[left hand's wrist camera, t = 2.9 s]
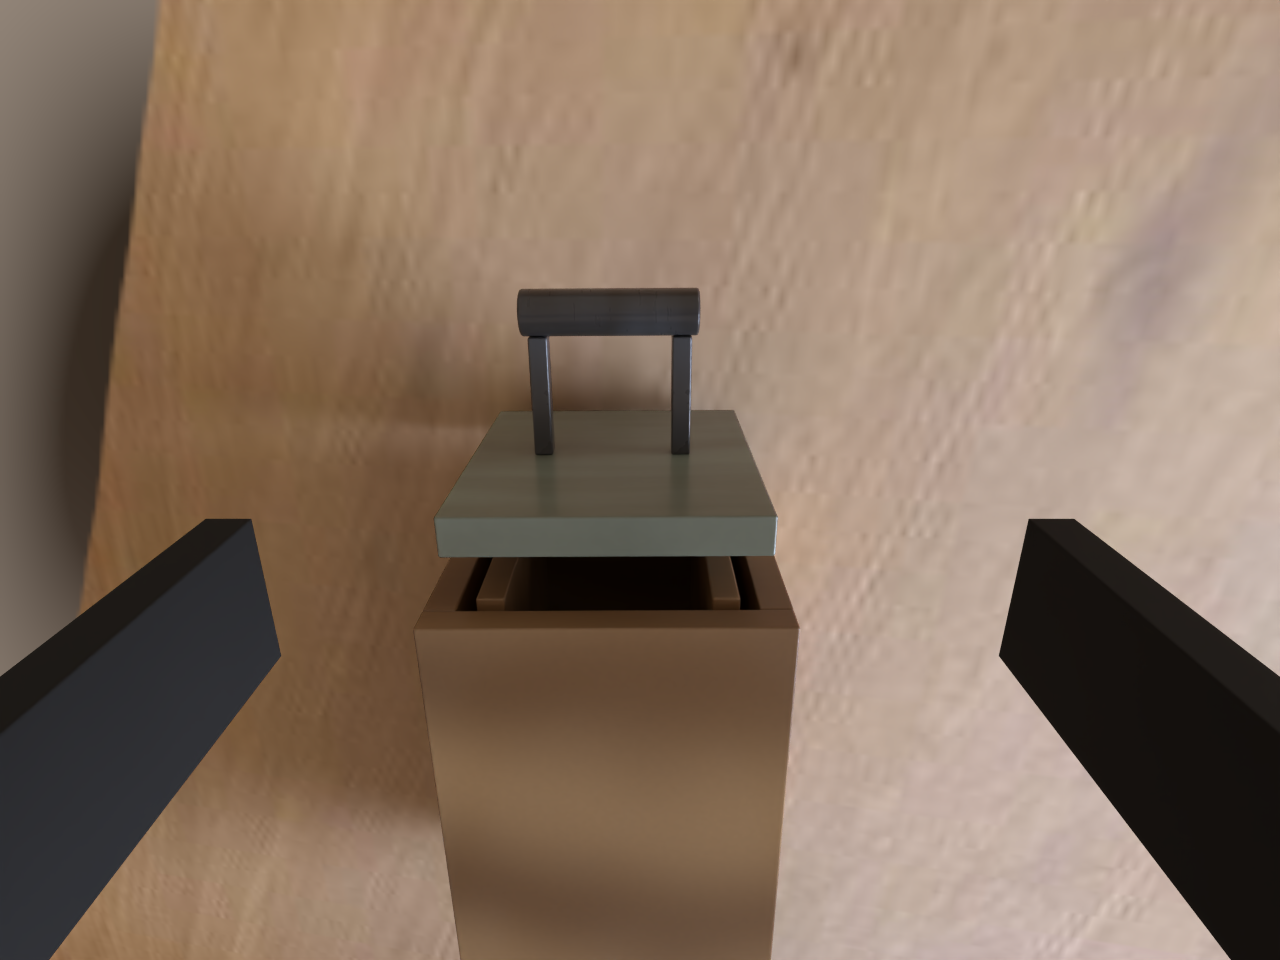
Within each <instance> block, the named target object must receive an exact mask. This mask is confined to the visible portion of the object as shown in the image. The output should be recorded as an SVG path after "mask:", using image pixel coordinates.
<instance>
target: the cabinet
mask: <svg viewBox="0 0 1280 960" xmlns="http://www.w3.org/2000/svg"><path fill="white" fill-rule="evenodd" d="M730 558H731V562H732V566H733V570H734V574H735V579H736V583H737V587H738V591H739V595H740V610H635V611H477V603H476V599H477V597H478V594H479V592H480V589H481V587H482V584H483V582H484V579H485V577H486V574H487V572H488V569H489V567H490V564H491V562H492V559H493V557H451V558H450V560H449V561H448V563H447V565H446V567H445V569H444V571H443V573H442V575H441V577H440V579H439V581H438V583H437V585H436V587H435V589H434V591H433V593H432V594H431V596H430V598H429V600H428V602H427V604H426V606H425V608H424V610H423V612H422V614H421V616H420V618H419V620H418V622H417V624H416V625H415V627H414V630H413V631H414V638H415V645H416V652H417V659H418V666H419V673H420V680H421V687H422V694H423V701H424V708H425V715H426V722H427V729H428V736H429V743H430V750H431V757H432V764H433V771H434V778H435V784H436V791H437V798H438V805H439V812H440V819H441V826H442V833H443V840H444V847H445V854H446V861H447V868H448V875H449V882H450V889H451V896H452V903H453V910H454V917H455V924H456V931H457V938H458V945H459V952H460V959H461V960H771V953H772V941H773V930H774V919H775V907H776V896H777V885H778V873H779V862H780V850H781V839H782V828H783V816H784V805H785V793H786V782H787V771H788V759H789V748H790V736H791V725H792V714H793V702H794V691H795V680H796V668H797V657H798V645H799V634H800V627H799V624H798V622H797V619H796V616H795V613H794V611H793V607H792V604H791V601H790V599H789V596H788V593H787V590H786V588H785V585H784V582H783V579H782V576H781V574H780V571H779V568H778V565H777V562H776V560H775V557H774V556H730Z"/></svg>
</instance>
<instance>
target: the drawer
mask: <svg viewBox="0 0 1280 960" xmlns="http://www.w3.org/2000/svg"><path fill="white" fill-rule="evenodd" d="M517 319H518V327H519V331H520V333H521V335H522V336H529V338H528V353H529V369H530V384H531V400H532V411H501V412H500V413H499V415H498V417H497V418H496V420H495V421H494V423H493V425H492V426H491V428H490V429H489V431H488V433H487V434H486V436H485V437H484V439H483V441H482V442H481V444H480V445H479V447H478V449H477V450H476V452H475V453H474V455H473V457H472V458H471V460H470V461H469V463H468V464H467V466H466V468H465V469H464V471H463V472H462V474H461V476H460V477H459V479H458V480H457V482H456V484H455V485H454V487H453V488H452V490H451V492H450V493H449V495H448V496H447V498H446V500H445V501H444V503H443V504H442V506H441V508H440V509H439V511H438V512H437V514H436V516H435V517H434V525H435V533H436V541H437V549H438V556H439V557H493V559H492V562H491V564H490V567H489V569H488V572H487V574H486V577H485V579H484V582H483V584H482V587H481V589H480V592H479V594H478V597H477V599H476V603H477V611H635V610H740V595H739V591H738V587H737V583H736V579H735V574H734V570H733V566H732V562H731V558H730V556H774V555H775V549H776V535H777V521H778V517H777V514H776V512H775V509H774V507H773V504H772V502H771V500H770V497H769V495H768V492H767V490H766V487H765V485H764V482H763V480H762V478H761V475H760V473H759V470H758V468H757V465H756V463H755V460H754V458H753V456H752V453H751V451H750V448H749V446H748V443H747V441H746V439H745V436H744V434H743V431H742V429H741V426H740V424H739V421H738V419H737V417H736V414H735V412H734V410H691V365H692V337H691V335H698V333H699V328H700V292H699V289H698V288H595V289H521V290H519V293H518V297H517ZM657 335H672V355H671V411H553V401H552V382H551V363H550V344H549V336H657Z"/></svg>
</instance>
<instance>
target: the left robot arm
mask: <svg viewBox="0 0 1280 960" xmlns="http://www.w3.org/2000/svg"><path fill="white" fill-rule="evenodd" d="M280 657H281V653H280V649H279V644H278V639H277V635H276V630H275V626H274V621H273V616H272V612H271V607H270V603H269V598H268V594H267V589H266V584H265V580H264V575H263V571H262V566H261V561H260V557H259V552H258V548H257V543H256V539H255V534H254V529H253V525H252V520H251V519H205V520H204V521H202V522H201V523H200V524H199V525H197V526H196V527H195V528H193V529H192V530H191V531H189V532H188V533H187V534H186V535H184V536H183V537H182V538H180V539H179V540H178V541H176V542H175V543H174V544H173V545H171V546H170V547H169V548H167V549H166V550H165V551H163V552H162V553H161V554H159V555H158V556H157V557H156V558H154V559H153V560H152V561H150V562H149V563H148V564H146V565H145V566H144V567H143V568H141V569H140V570H139V571H137V572H136V573H135V574H133V575H132V576H131V577H130V578H128V579H127V580H126V581H124V582H123V583H122V584H120V585H119V586H118V587H116V588H115V589H114V590H113V591H111V592H110V593H109V594H107V595H106V596H105V597H103V598H102V599H101V600H100V601H98V602H97V603H96V604H94V605H93V606H92V607H90V608H89V609H88V610H87V611H85V612H84V613H83V614H81V615H80V616H79V617H77V618H76V619H75V620H73V621H72V622H71V623H70V624H68V625H67V626H66V627H64V628H63V629H62V630H60V631H59V632H58V633H57V634H55V635H54V636H53V637H51V638H50V639H49V640H47V641H46V642H45V643H44V644H42V645H41V646H40V647H38V648H37V649H36V650H34V651H33V652H32V653H30V654H29V655H28V656H27V657H25V658H24V659H23V660H21V661H20V662H19V663H17V664H16V665H15V666H14V667H12V668H11V669H10V670H8V671H7V672H6V673H4V674H3V675H2V676H1V677H0V960H49V959H50V958H51V957H52V955H53V954H54V953H55V951H56V950H57V949H58V947H59V946H60V945H61V943H62V942H63V941H64V940H65V938H66V937H67V936H68V934H69V933H70V932H71V930H72V929H73V928H74V926H75V925H76V924H77V922H78V921H79V920H80V919H81V917H82V916H83V915H84V913H85V912H86V911H87V909H88V908H89V907H90V905H91V904H92V903H93V902H94V900H95V899H96V898H97V896H98V895H99V894H100V892H101V891H102V890H103V888H104V887H105V886H106V885H107V883H108V882H109V881H110V879H111V878H112V877H113V875H114V874H115V873H116V871H117V870H118V869H119V867H120V866H121V865H122V864H123V862H124V861H125V860H126V858H127V857H128V856H129V854H130V853H131V852H132V850H133V849H134V848H135V847H136V845H137V844H138V843H139V841H140V840H141V839H142V837H143V836H144V835H145V833H146V832H147V831H148V830H149V828H150V827H151V826H152V824H153V823H154V822H155V820H156V819H157V818H158V816H159V815H160V814H161V812H162V811H163V810H164V809H165V807H166V806H167V805H168V803H169V802H170V801H171V799H172V798H173V797H174V795H175V794H176V793H177V792H178V790H179V789H180V788H181V786H182V785H183V784H184V782H185V781H186V780H187V778H188V777H189V776H190V774H191V773H192V772H193V771H194V769H195V768H196V767H197V765H198V764H199V763H200V761H201V760H202V759H203V757H204V756H205V755H206V754H207V752H208V751H209V750H210V748H211V747H212V746H213V744H214V743H215V742H216V740H217V739H218V738H219V737H220V735H221V734H222V733H223V731H224V730H225V729H226V727H227V726H228V725H229V723H230V722H231V721H232V719H233V718H234V717H235V716H236V714H237V713H238V712H239V710H240V709H241V708H242V706H243V705H244V704H245V702H246V701H247V700H248V699H249V697H250V696H251V695H252V693H253V692H254V691H255V689H256V688H257V687H258V685H259V684H260V683H261V681H262V680H263V679H264V678H265V676H266V675H267V674H268V672H269V671H270V670H271V668H272V667H273V666H274V664H275V663H276V662H277V661H278V659H279V658H280ZM999 657H1000V658H1001V659H1002V661H1003V662H1004V663H1005V664H1006V666H1007V667H1008V668H1009V670H1010V671H1011V672H1012V674H1013V675H1014V676H1015V678H1016V679H1017V680H1018V682H1019V683H1020V684H1021V685H1022V687H1023V688H1024V689H1025V691H1026V692H1027V693H1028V695H1029V696H1030V697H1031V699H1032V700H1033V701H1034V702H1035V704H1036V705H1037V706H1038V708H1039V709H1040V710H1041V712H1042V713H1043V714H1044V716H1045V717H1046V718H1047V719H1048V721H1049V722H1050V723H1051V725H1052V726H1053V727H1054V729H1055V730H1056V731H1057V733H1058V734H1059V735H1060V737H1061V738H1062V739H1063V740H1064V742H1065V743H1066V744H1067V746H1068V747H1069V748H1070V750H1071V751H1072V752H1073V754H1074V755H1075V756H1076V757H1077V759H1078V760H1079V761H1080V763H1081V764H1082V765H1083V767H1084V768H1085V769H1086V771H1087V772H1088V773H1089V774H1090V776H1091V777H1092V778H1093V780H1094V781H1095V782H1096V784H1097V785H1098V786H1099V788H1100V789H1101V790H1102V792H1103V793H1104V794H1105V795H1106V797H1107V798H1108V799H1109V801H1110V802H1111V803H1112V805H1113V806H1114V807H1115V809H1116V810H1117V811H1118V812H1119V814H1120V815H1121V816H1122V818H1123V819H1124V820H1125V822H1126V823H1127V824H1128V826H1129V827H1130V828H1131V830H1132V831H1133V832H1134V833H1135V835H1136V836H1137V837H1138V839H1139V840H1140V841H1141V843H1142V844H1143V845H1144V847H1145V848H1146V849H1147V850H1148V852H1149V853H1150V854H1151V856H1152V857H1153V858H1154V860H1155V861H1156V862H1157V864H1158V865H1159V866H1160V867H1161V869H1162V870H1163V871H1164V873H1165V874H1166V875H1167V877H1168V878H1169V879H1170V881H1171V882H1172V883H1173V885H1174V886H1175V887H1176V888H1177V890H1178V891H1179V892H1180V894H1181V895H1182V896H1183V898H1184V899H1185V900H1186V902H1187V903H1188V904H1189V905H1190V907H1191V908H1192V909H1193V911H1194V912H1195V913H1196V915H1197V916H1198V917H1199V919H1200V920H1201V921H1202V922H1203V924H1204V925H1205V926H1206V928H1207V929H1208V930H1209V932H1210V933H1211V934H1212V936H1213V937H1214V938H1215V940H1216V941H1217V942H1218V943H1219V945H1220V946H1221V947H1222V949H1223V950H1224V951H1225V953H1226V954H1227V955H1228V957H1229V958H1230V959H1231V960H1280V677H1279V676H1278V675H1277V674H1276V673H1274V672H1273V671H1272V670H1270V669H1269V668H1268V667H1266V666H1265V665H1264V664H1263V663H1261V662H1260V661H1259V660H1257V659H1256V658H1255V657H1253V656H1252V655H1251V654H1250V653H1248V652H1247V651H1246V650H1244V649H1243V648H1242V647H1240V646H1239V645H1238V644H1236V643H1235V642H1234V641H1233V640H1231V639H1230V638H1229V637H1227V636H1226V635H1225V634H1223V633H1222V632H1221V631H1220V630H1218V629H1217V628H1216V627H1214V626H1213V625H1212V624H1210V623H1209V622H1208V621H1207V620H1205V619H1204V618H1203V617H1201V616H1200V615H1199V614H1197V613H1196V612H1195V611H1193V610H1192V609H1191V608H1190V607H1188V606H1187V605H1186V604H1184V603H1183V602H1182V601H1180V600H1179V599H1178V598H1177V597H1175V596H1174V595H1173V594H1171V593H1170V592H1169V591H1167V590H1166V589H1165V588H1164V587H1162V586H1161V585H1160V584H1158V583H1157V582H1156V581H1154V580H1153V579H1152V578H1150V577H1149V576H1148V575H1147V574H1145V573H1144V572H1143V571H1141V570H1140V569H1139V568H1137V567H1136V566H1135V565H1134V564H1132V563H1131V562H1130V561H1128V560H1127V559H1126V558H1124V557H1123V556H1122V555H1121V554H1119V553H1118V552H1117V551H1115V550H1114V549H1113V548H1111V547H1110V546H1109V545H1107V544H1106V543H1105V542H1104V541H1102V540H1101V539H1100V538H1098V537H1097V536H1096V535H1094V534H1093V533H1092V532H1091V531H1089V530H1088V529H1087V528H1085V527H1084V526H1083V525H1081V524H1080V523H1079V522H1078V521H1076V520H1075V519H1029V520H1028V525H1027V529H1026V534H1025V539H1024V543H1023V548H1022V552H1021V557H1020V561H1019V566H1018V571H1017V575H1016V580H1015V584H1014V589H1013V594H1012V598H1011V603H1010V607H1009V612H1008V616H1007V621H1006V626H1005V630H1004V635H1003V639H1002V644H1001V649H1000V653H999Z"/></svg>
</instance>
